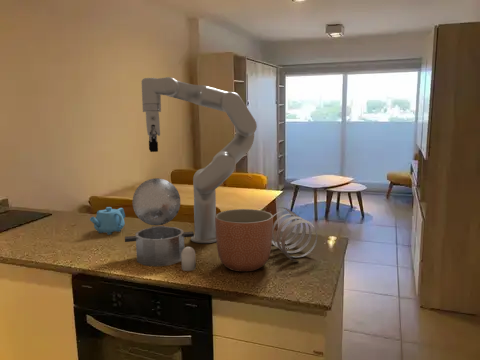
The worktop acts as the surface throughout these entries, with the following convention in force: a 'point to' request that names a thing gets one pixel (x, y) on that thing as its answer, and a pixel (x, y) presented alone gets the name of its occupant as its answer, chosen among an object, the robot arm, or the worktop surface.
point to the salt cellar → (188, 259)
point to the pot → (159, 245)
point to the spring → (289, 230)
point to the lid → (156, 201)
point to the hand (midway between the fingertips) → (153, 150)
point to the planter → (244, 238)
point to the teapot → (109, 220)
